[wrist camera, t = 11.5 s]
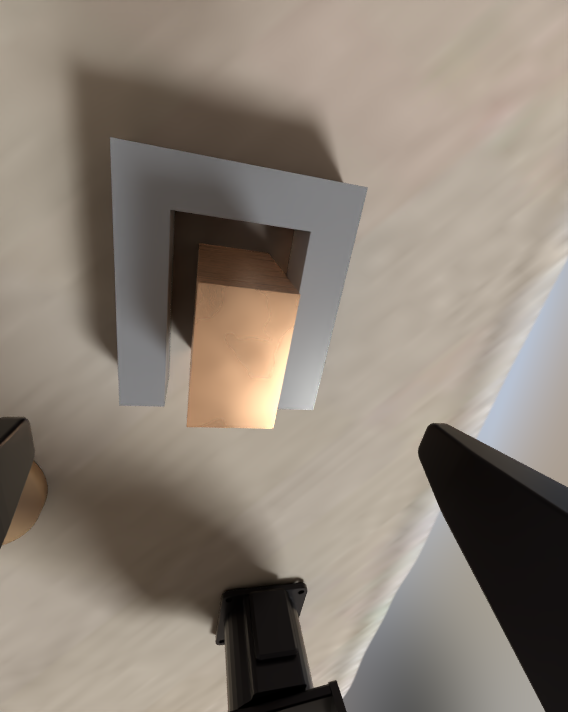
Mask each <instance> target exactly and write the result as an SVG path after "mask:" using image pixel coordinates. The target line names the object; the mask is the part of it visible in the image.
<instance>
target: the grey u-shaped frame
mask: <svg viewBox="0 0 568 712" xmlns="http://www.w3.org/2000/svg"><path fill="white" fill-rule="evenodd" d="M110 153H111V181H112V210H113V238H114V266H115V295H116V323H117V351H118V380H119V405H123V406H165V400H166V393H167V387H168V380H169V362H170V334H171V305H172V276H173V247H174V218H175V211H181V212H188V213H194V214H201V215H207V216H213V217H220V218H226V219H233V220H239V221H246V222H252V223H259V224H265V225H271V226H278V227H284V228H291V229H294V235H293V241H292V247H291V252H290V258H289V264H288V270H287V278H288V279H289V280H290V282H291V283H292V284H293V285H294V287H295V288H296V289H297V291H298V292H299V293H300V295H301V296H300V301H299V305H298V310H297V315H296V320H295V325H294V330H293V334H292V339H291V344H290V349H289V354H288V359H287V364H286V368H285V373H284V378H283V383H282V388H281V393H280V398H279V402H278V407H277V409H296V410H313V409H314V405H315V401H316V397H317V393H318V388H319V384H320V380H321V376H322V372H323V368H324V364H325V360H326V356H327V352H328V348H329V344H330V340H331V335H332V331H333V327H334V323H335V319H336V315H337V311H338V307H339V303H340V299H341V295H342V291H343V286H344V282H345V278H346V274H347V270H348V266H349V262H350V258H351V254H352V250H353V246H354V242H355V238H356V233H357V229H358V225H359V221H360V217H361V213H362V209H363V205H364V201H365V197H366V193H367V189H368V187H363V186H357V185H352V184H347V183H342V182H337V181H332V180H327V179H322V178H317V177H312V176H306V175H301V174H296V173H291V172H286V171H281V170H276V169H271V168H266V167H261V166H255V165H250V164H245V163H240V162H235V161H230V160H225V159H220V158H215V157H210V156H204V155H199V154H194V153H189V152H184V151H179V150H174V149H169V148H164V147H159V146H153V145H148V144H143V143H138V142H133V141H128V140H123V139H118V138H113V137H110Z"/></svg>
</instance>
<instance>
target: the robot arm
mask: <svg viewBox="0 0 568 712" xmlns="http://www.w3.org/2000/svg"><path fill="white" fill-rule="evenodd" d="M418 455H419V459H420V461H421V464H422V466H423V469H424V471H425V474H426V476H427V478H428V481H429V483H430V486H431V488H432V491H433V493H434V495H435V498H436V500H437V503H438V505H439V507H440V510H441V512H442V514H443V516H444V518H445V520H446V522H447V524H448V526H449V527H450V530H451V532H452V533H453V535H454V537H455V539H456V541H457V543H458V545H459V547H460V549H461V551H462V553H463V555H464V556H465V558H466V560H467V562H468V564H469V566H470V568H471V570H472V572H473V574H474V576H475V577H476V579H477V581H478V583H479V585H480V587H481V589H482V591H483V593H484V595H485V597H486V599H487V601H488V602H489V604H490V606H491V608H492V610H493V612H494V614H495V616H496V618H497V620H498V622H499V623H500V625H501V627H502V629H503V631H504V633H505V635H506V637H507V639H508V641H509V643H510V645H511V647H512V649H513V650H514V652H515V654H516V656H517V658H518V660H519V662H520V664H521V666H522V668H523V670H524V671H525V673H526V675H527V677H528V679H529V681H530V683H531V685H532V687H533V689H534V691H535V693H536V694H537V696H538V698H539V700H540V702H541V704H542V706H543V708H544V710H545V712H568V487H566V486H564V485H562V484H560V483H558V482H556V481H555V480H553V479H551V478H549V477H547V476H545V475H543V474H541V473H539V472H538V471H536V470H534V469H532V468H530V467H528V466H526V465H524V464H522V463H520V462H518V461H516V460H515V459H513V458H511V457H509V456H507V455H505V454H503V453H501V452H499V451H498V450H496V449H494V448H492V447H490V446H488V445H486V444H484V443H482V442H480V441H479V440H477V439H475V438H473V437H471V436H469V435H467V434H465V433H463V432H461V431H459V430H458V429H456V428H454V427H452V426H450V425H448V424H445V423H432V424H430V425H429V426H428V427H427V429H426V431H425V434H424V436H423V438H422V441H421V443H420V445H419V448H418ZM33 460H34V445H33V439H32V433H31V427H30V423H29V421H28V419H26V418H25V417H2V418H0V548H1V546H2V544H3V542H4V539H5V537H6V535H7V532H8V530H9V527H10V525H11V522H12V519H13V516H14V513H15V511H16V508H17V505H18V502H19V500H20V497H21V494H22V491H23V489H24V486H25V483H26V480H27V477H28V475H29V472H30V469H31V466H32V464H33ZM306 594H307V587H306V584H305V583H296V584H286V585H277V586H267V587H258V588H248V589H239V590H229V591H226V592H224V593H223V594H222V598H221V604H220V611H219V617H218V624H217V630H216V644H217V645H225V655H226V676H227V696H228V712H346V709H345V706H344V703H343V699H342V696H341V693H340V690H339V687H338V684H337V681H336V680H335V681H331V682H328V684H327V685H323V686H320V687H316V688H313V683H312V678H311V674H310V669H309V664H308V660H307V655H306V650H305V646H304V641H303V636H302V632H301V627H300V622H299V616H300V613H301V609H302V606H303V603H304V600H305V597H306Z"/></svg>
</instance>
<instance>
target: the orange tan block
mask: <svg viewBox="0 0 568 712" xmlns="http://www.w3.org/2000/svg"><path fill="white" fill-rule="evenodd" d="M300 296H301V295H300V293H299V292H298V291H297V289H296V288H295V287H294V285H293V284H292V283H291V282H290V280H289V279H288V278H287V276H286V275H285V274H284V272H283V271H282V270H281V269H280V267H279V266H278V265H277V263H276V262H275V261H274V259H273V258H272V257H271V256H270V254H269V253H265V252H258V251H251V250H244V249H238V248H231V247H224V246H217V245H210V244H204V243H199V253H198V266H197V279H196V292H195V306H194V319H193V332H192V345H191V361H190V378H189V395H188V413H187V427H219V428H272V429H273V427H274V422H275V417H276V412H277V407H278V402H279V398H280V393H281V388H282V383H283V378H284V373H285V368H286V364H287V359H288V354H289V349H290V344H291V339H292V334H293V330H294V325H295V320H296V315H297V310H298V305H299V301H300Z"/></svg>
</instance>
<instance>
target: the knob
mask: <svg viewBox="0 0 568 712" xmlns="http://www.w3.org/2000/svg"><path fill="white" fill-rule="evenodd" d="M47 493H48V487H47V482H46V478H45V476H44V474H43V472H42V471H41V469H40V468H39V466H38V465H37V464H36V463H35V462H34V461H33V464H32V466H31V469H30V472H29V475H28V477H27V480H26V483H25V486H24V489H23V491H22V494H21V497H20V500H19V502H18V505H17V508H16V511H15V513H14V516H13V519H12V522H11V525H10V527H9V530H8V532H7V535H6V537H5V539H4V542H3V544H2V545H4V544H7V543H9V542H12V541H14V540H16V539H18V538H19V537H21V536H22V535H24V534H25V533H26V532H27V531H29V530H30V529H31V527H32V526H33V525H34V524H35V522H36V520H37V519H38V517H39V514H40V512H41V510H42V508H43V506H44V504H45V501H46V498H47Z"/></svg>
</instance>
